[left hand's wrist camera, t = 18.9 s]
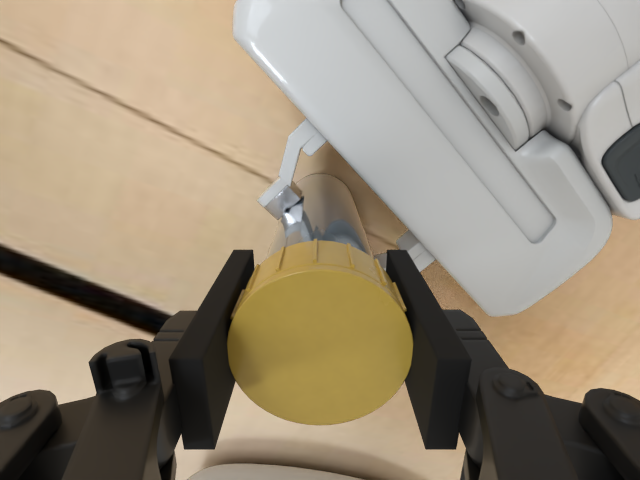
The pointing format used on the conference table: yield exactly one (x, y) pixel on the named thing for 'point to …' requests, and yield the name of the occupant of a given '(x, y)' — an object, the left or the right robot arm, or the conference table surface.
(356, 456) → the conference table surface
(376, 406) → the lid
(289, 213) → the blue-grey bottle
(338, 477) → the projector
